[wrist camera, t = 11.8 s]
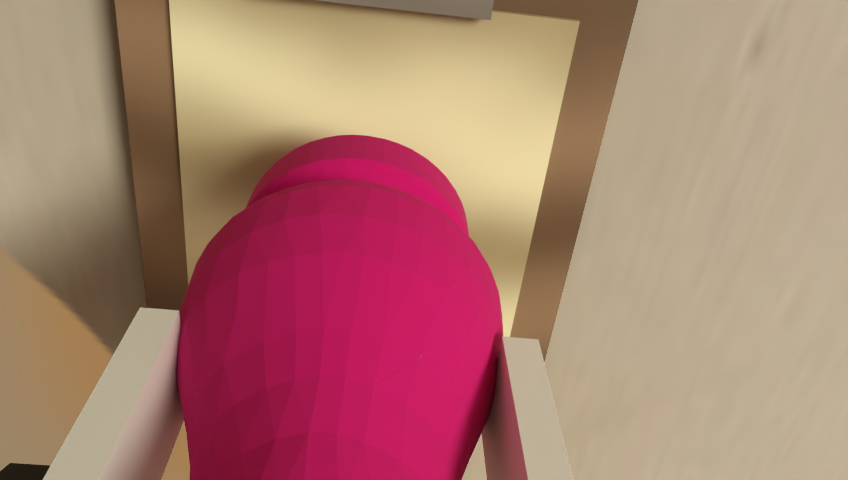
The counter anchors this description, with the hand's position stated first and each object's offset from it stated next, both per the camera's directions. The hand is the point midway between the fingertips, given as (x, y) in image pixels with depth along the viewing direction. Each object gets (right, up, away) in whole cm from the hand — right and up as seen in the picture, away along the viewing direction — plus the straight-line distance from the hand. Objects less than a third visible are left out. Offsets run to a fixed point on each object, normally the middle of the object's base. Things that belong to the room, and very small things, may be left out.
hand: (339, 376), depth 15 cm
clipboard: (0, +5, +8) cm, 9 cm away
